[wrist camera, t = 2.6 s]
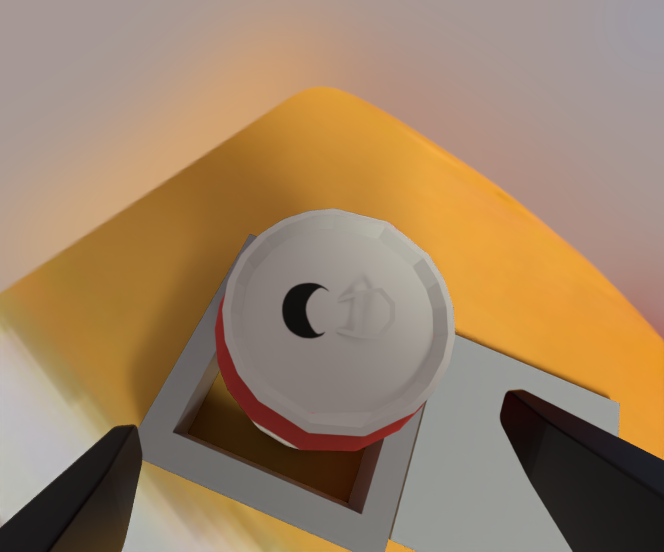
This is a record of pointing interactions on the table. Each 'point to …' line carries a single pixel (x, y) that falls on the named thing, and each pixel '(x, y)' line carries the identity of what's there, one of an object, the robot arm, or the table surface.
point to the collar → (262, 483)
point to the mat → (482, 459)
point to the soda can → (333, 330)
